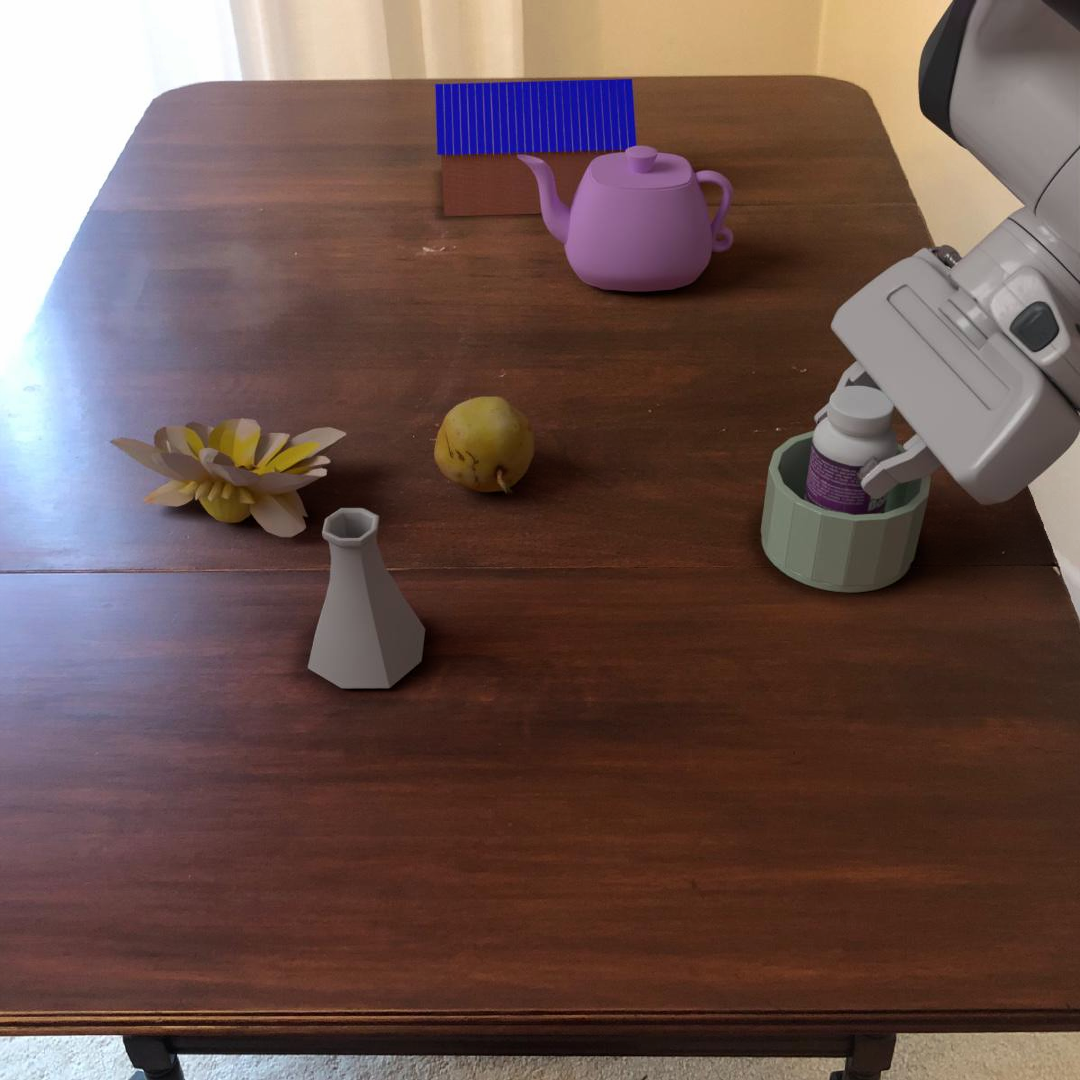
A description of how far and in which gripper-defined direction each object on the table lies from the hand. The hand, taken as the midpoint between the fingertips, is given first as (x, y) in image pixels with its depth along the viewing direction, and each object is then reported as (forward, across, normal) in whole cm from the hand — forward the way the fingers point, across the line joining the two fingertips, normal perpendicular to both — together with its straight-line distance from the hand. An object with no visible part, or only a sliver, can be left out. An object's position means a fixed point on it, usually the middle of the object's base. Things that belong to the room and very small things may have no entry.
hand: (843, 459), depth 79 cm
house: (+10, -64, 0) cm, 65 cm away
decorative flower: (+32, -13, -22) cm, 41 cm away
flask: (+28, +4, -17) cm, 33 cm away
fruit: (+20, -12, -10) cm, 26 cm away
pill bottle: (+4, 0, +4) cm, 6 cm away
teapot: (+7, -43, +3) cm, 44 cm away
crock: (+5, 0, +6) cm, 7 cm away
